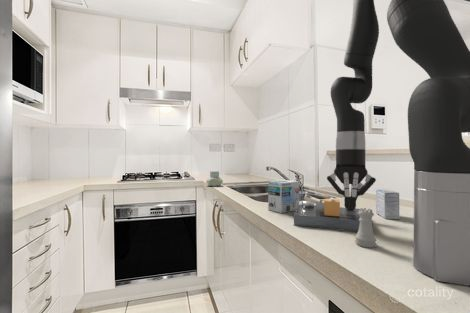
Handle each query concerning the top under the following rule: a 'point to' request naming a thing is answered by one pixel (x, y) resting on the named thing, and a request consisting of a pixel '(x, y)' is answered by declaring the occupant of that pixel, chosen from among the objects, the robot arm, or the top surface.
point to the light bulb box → (283, 195)
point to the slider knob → (331, 207)
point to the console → (326, 217)
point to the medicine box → (387, 204)
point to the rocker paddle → (312, 199)
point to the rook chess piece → (365, 229)
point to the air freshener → (214, 179)
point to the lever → (359, 187)
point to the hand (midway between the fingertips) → (350, 210)
